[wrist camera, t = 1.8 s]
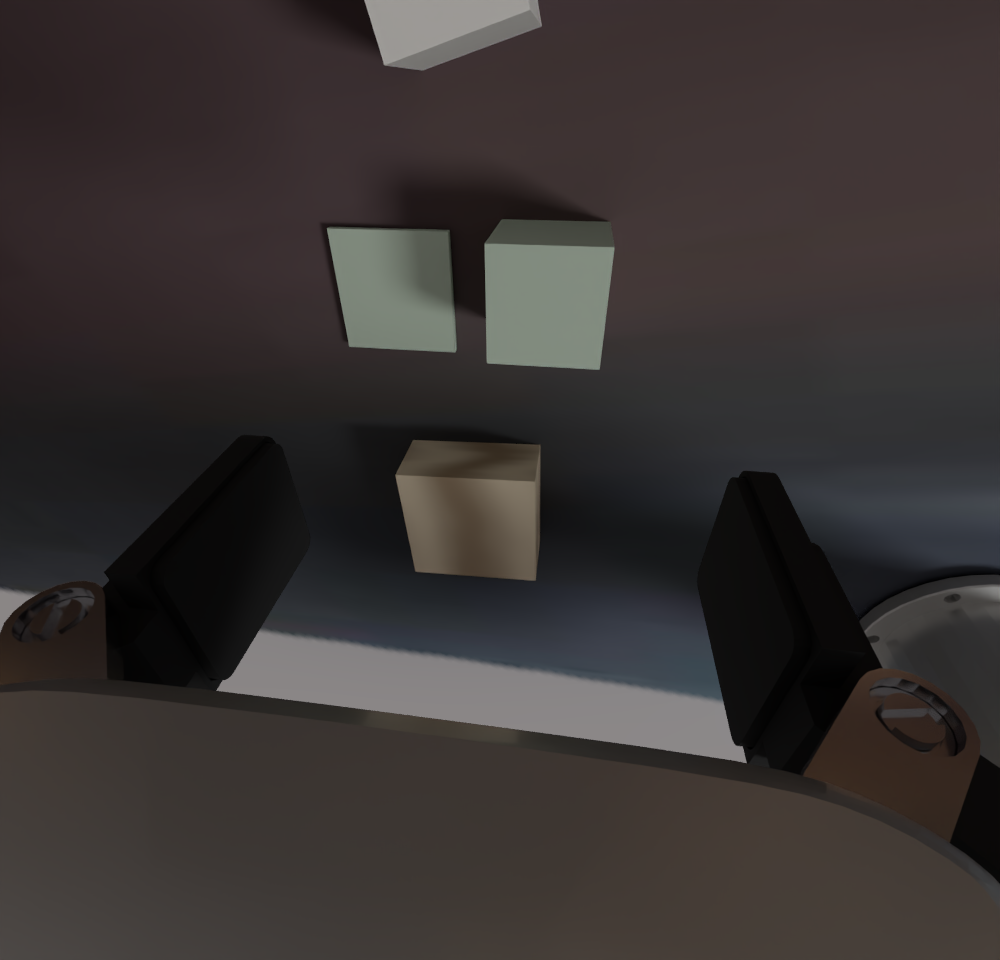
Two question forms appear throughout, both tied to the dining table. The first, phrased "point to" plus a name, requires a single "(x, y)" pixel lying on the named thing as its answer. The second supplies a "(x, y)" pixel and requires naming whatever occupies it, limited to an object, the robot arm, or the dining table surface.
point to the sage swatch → (395, 287)
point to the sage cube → (547, 292)
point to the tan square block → (472, 507)
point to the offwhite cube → (445, 28)
